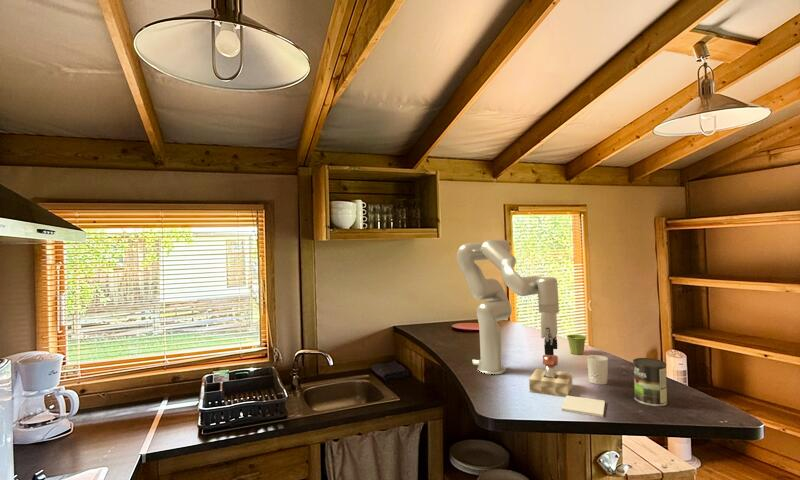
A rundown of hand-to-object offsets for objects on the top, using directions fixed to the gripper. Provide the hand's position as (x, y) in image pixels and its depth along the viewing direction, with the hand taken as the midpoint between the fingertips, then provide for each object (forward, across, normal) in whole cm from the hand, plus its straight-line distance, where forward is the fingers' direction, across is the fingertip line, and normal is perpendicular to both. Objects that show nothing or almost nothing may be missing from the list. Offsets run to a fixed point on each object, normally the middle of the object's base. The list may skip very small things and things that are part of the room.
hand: (551, 351), depth 165 cm
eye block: (+15, 0, -1) cm, 15 cm away
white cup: (+15, -15, +15) cm, 26 cm away
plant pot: (+14, -56, +3) cm, 58 cm away
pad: (+15, +14, +12) cm, 24 cm away
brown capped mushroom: (+15, 0, -1) cm, 15 cm away
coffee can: (+16, -1, +33) cm, 37 cm away
